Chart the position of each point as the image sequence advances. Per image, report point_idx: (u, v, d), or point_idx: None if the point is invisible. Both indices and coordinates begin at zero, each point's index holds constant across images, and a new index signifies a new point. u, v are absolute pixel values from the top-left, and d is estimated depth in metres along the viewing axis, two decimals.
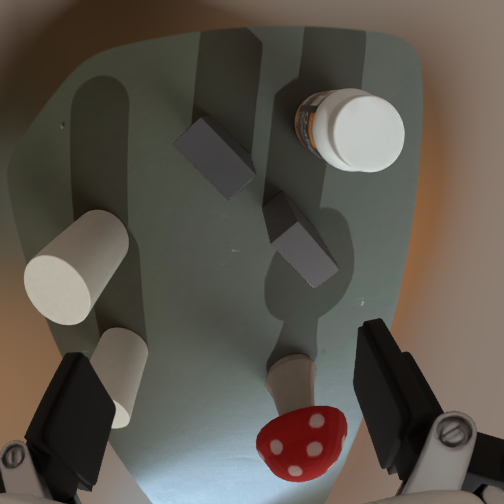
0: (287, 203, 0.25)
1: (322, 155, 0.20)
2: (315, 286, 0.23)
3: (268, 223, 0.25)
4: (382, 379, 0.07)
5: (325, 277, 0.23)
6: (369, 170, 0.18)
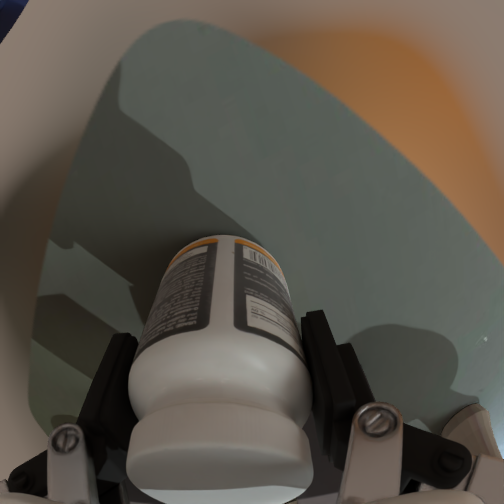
0: None
1: None
2: None
3: None
4: (314, 366, 0.08)
5: None
6: (290, 499, 0.07)
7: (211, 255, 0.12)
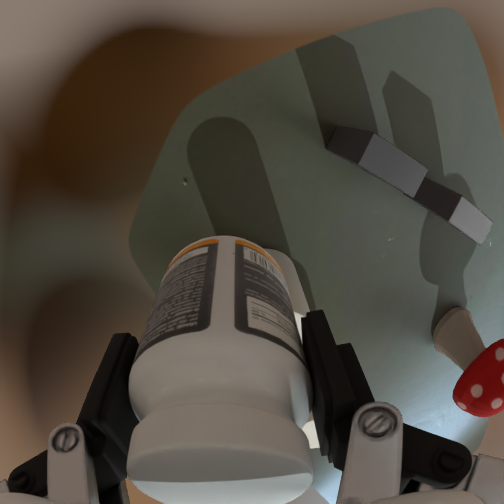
0: (434, 182, 0.24)
1: None
2: (481, 243, 0.22)
3: (428, 205, 0.24)
4: (314, 366, 0.08)
5: (486, 233, 0.22)
6: (289, 500, 0.07)
7: (212, 256, 0.12)
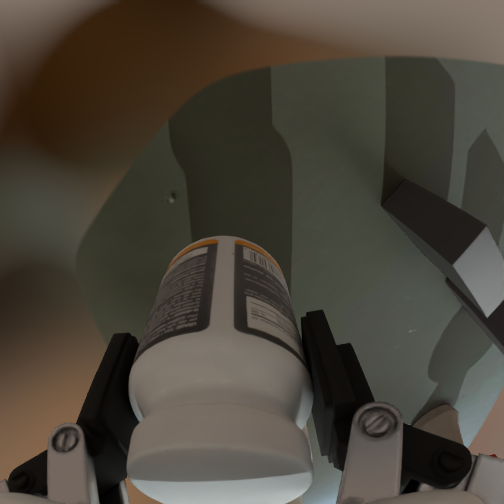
0: None
1: None
2: None
3: (479, 313, 0.17)
4: (314, 366, 0.08)
5: None
6: (290, 500, 0.07)
7: (211, 256, 0.12)
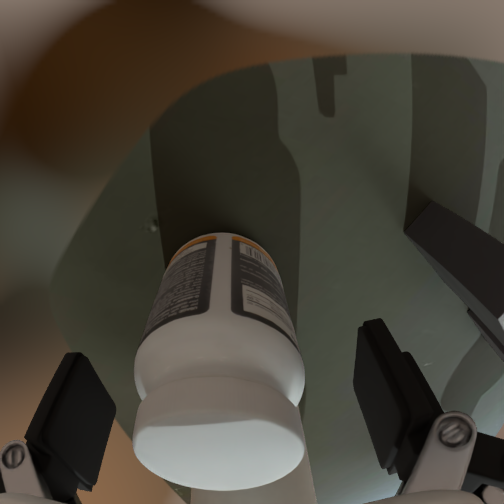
0: None
1: None
2: None
3: None
4: (382, 379, 0.07)
5: None
6: (284, 474, 0.08)
7: (210, 250, 0.13)
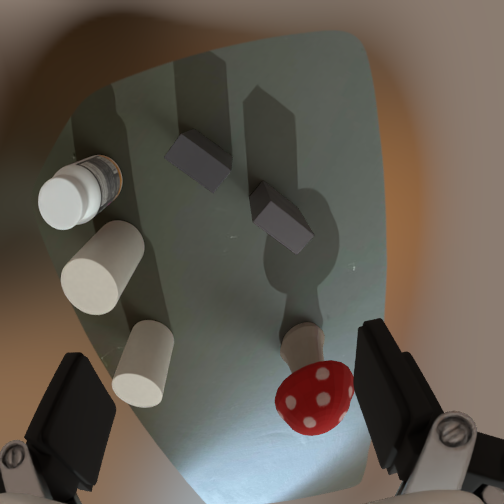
0: (265, 189, 0.30)
1: (81, 223, 0.27)
2: (296, 252, 0.28)
3: (252, 207, 0.30)
4: (382, 379, 0.07)
5: (303, 243, 0.28)
6: (79, 215, 0.24)
7: (86, 158, 0.29)
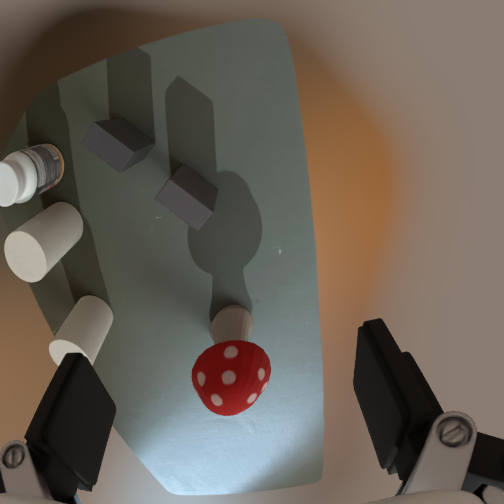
0: None
1: (22, 202, 0.28)
2: (197, 228, 0.29)
3: None
4: (382, 379, 0.07)
5: (202, 220, 0.29)
6: (16, 194, 0.25)
7: (33, 146, 0.30)
